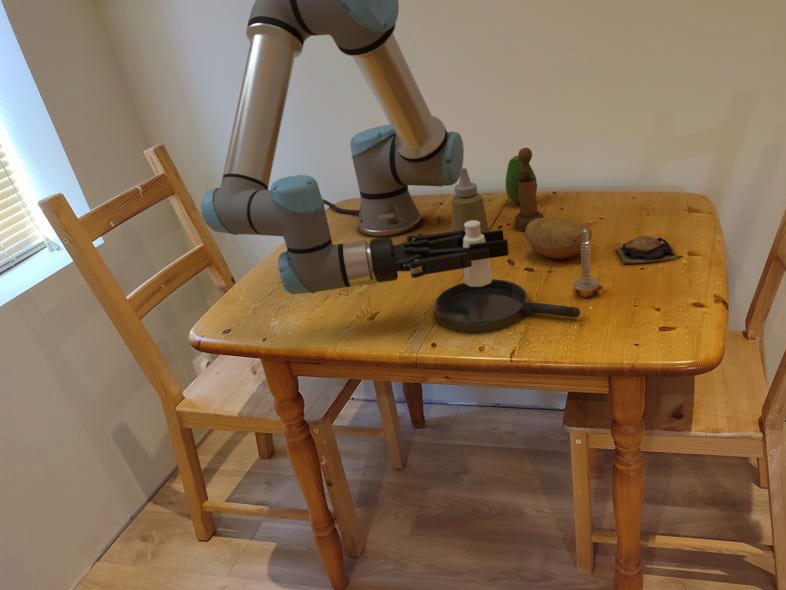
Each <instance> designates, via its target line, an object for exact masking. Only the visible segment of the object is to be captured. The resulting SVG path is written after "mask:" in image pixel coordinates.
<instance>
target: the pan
mask: <svg viewBox="0 0 786 590" xmlns="http://www.w3.org/2000/svg"><path fill="white" fill-rule="evenodd" d="M524 302H529V297H528V293H527V291H526V289H524V288H523V287H522V286H521V285H519V284H518V283H515V282H513V281H508V280H505V279H497V278H493V279H492V282H491V283H490V284H487V285H485V286H482V287H470V286H468V285H466V284H465V283H464V282H461V283H458V284H456V285H454V286H451V287H449V288H447V289H445V290H444V291H442V293H440V294H439V295H438V296H437V298H436V300H435V302H434V311H435V315H436V319H437V321H438V322H439V324H440V325H442V326H443V327H445V328H446V329H450V330H452V331H454V332H459V333H467V334H482V333H483V334H484V333H489V332H495V331H499V330H502V329H506V328H508V327H511V326H512V325H514V324H516V323H517V322H519V321H520V320H522V319H523V318H524V316H526V314H524V313H523V312H522V307H523V306H522V304H523V303H524Z"/></svg>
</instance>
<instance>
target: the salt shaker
mask: <svg viewBox="0 0 786 590" xmlns="http://www.w3.org/2000/svg"><path fill="white" fill-rule="evenodd" d="M464 227H465V232H466V235H465V236H464V239H463V248H465V247H468V248H470V247H469V245H470V244H477V243H484V242H485V237H484V235H483V234H481V232H480V231H481V230H480V222H479V221H476V220H472V221H468V222H466V223H465V224H464ZM471 263H472V266H471V267H467V268H463V283H465V284H466V285H468V286H470V287H482V286H485V285H487V284H490V283H491V282H492V279H494V275H493V270H492V266H491V261H490V258H487V259H481V260H474V261H471Z"/></svg>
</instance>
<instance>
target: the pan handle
mask: <svg viewBox="0 0 786 590" xmlns="http://www.w3.org/2000/svg"><path fill="white" fill-rule="evenodd" d="M522 306H523V307H522V312H523V313H524V314H525V315H533V314H539V315H548V316H556V317H557V316H558V317H566V318H572V319H573V318H574V319H576V318H579V316H580V315H581V309H580V308H579V307H576V306H568V305H557V304H550V303H541V302H533V301H528V302H524V303H523V304H522Z"/></svg>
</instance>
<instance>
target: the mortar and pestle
mask: <svg viewBox="0 0 786 590" xmlns="http://www.w3.org/2000/svg"><path fill="white" fill-rule="evenodd" d="M517 156H519V159H520V160H521V162H522V164H523V167H522V168H521V172H522V176H523V178H520V179H519V180H518V187H519V199H520V204H519V211H520V212H518V213H517V215H516V216H515V218H514V223H515V228H516V230H519V231H521V232H525V231H526V227H527V225H528V224H529V222H530V221H532V220H534V219H538V218H544V214H543V213H542V212H540V211H538V202H537V190H536V182H537V179H536V180H535V178H534V177H530V174H531V168H532V167H531V168H530V167H529V164H530V162H531V160H532V157H533V151H532V149H531V148H529V147H523V148H520V149H519V151H518V155H517Z"/></svg>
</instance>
